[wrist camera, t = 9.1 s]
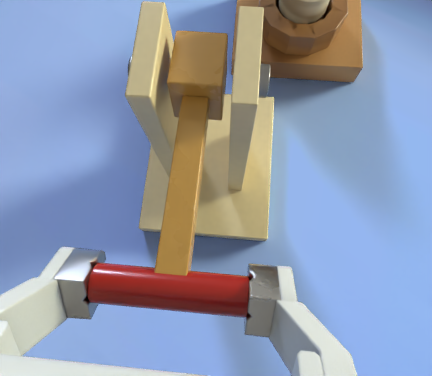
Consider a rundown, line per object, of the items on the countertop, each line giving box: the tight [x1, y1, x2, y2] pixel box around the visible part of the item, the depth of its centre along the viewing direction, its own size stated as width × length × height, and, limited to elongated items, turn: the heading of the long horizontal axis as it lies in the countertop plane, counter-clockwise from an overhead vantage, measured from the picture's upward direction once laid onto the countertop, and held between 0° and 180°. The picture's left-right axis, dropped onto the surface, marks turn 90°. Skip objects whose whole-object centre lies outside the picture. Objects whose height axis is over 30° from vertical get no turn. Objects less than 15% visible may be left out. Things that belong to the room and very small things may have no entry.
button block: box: [231, 0, 363, 82], centre depth 27 cm, size 10×8×4 cm
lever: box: [87, 31, 250, 318], centre depth 13 cm, size 11×5×2 cm, turn 175°
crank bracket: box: [125, 1, 274, 241], centre depth 19 cm, size 11×9×13 cm
